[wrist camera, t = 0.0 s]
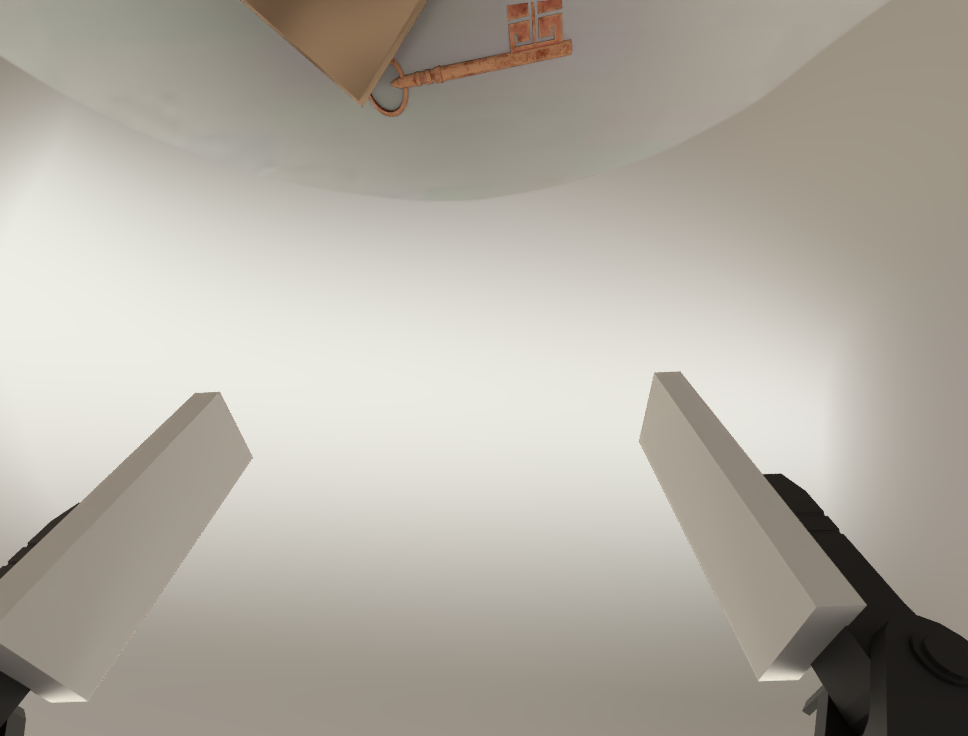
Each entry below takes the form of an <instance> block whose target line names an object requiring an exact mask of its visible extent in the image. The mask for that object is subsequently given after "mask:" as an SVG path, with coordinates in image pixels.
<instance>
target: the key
mask: <svg viewBox="0 0 968 736" xmlns="http://www.w3.org/2000/svg"><path fill="white" fill-rule="evenodd" d="M531 7H532V27H533V44H527V45H523V46H518V47H515V39H514V34H517V35H518V43H519V42H523V41H528V40H530V32H529V20H527V21H522V22H518V23H513V24H509V35H510V47H511V52H509V53H504V54H499V55H495V56H490V57H485V58H480V59H476V60H471V61H466V62H461V63H457V64H452V65H447V66H442V67H440V65H439V66H437V67H435V68H434V70H430V69H427V70H425V71H424V72H419V71H418V72H415V74H410V75H404V73H403V71H402V69H401V67H400V66H399V64H398V63H397V62H396V61H395V60H394V59H393V58H392V60H391V61H390V63H391V64H392V65H393V66H394V67H395V69H396V70H397V72H398V73H399V75H400V77H398V78H397V79H396V80H394V81H393V82H392V83H391V86H393V87H397V88H401V89H402V88H404V97H403V102H402V105H401V107H400V108H398V109H397V110H394V111H389V110H386V109H384V108H382V107H381V106H380V105H379V104H377V102H376V101H375V100H374V98H373V97H372V95H371V94H370V96H369V99H370V101H371V102H372V104H373V105H374V107H375V108H376V109H377V110H378V111H380V112H381V113H382V114H384V115H386V116H390V117H394V116H398V115H399V114H401V113H402V112H403V110H404V109H405V107H406V104H407V100H408V87H412V86H422V84H427V83H428V84H433V82H437V83H443V81H446V80H451V79H456V78H461V77H466V76H470V75H475V74H480V73H485V72H490V71H495V70H499V69H504V68H509V67H514V66H519V65H524V64H528V63H533V62H538V61H543V60H548V59H553V58H557V57H562V56H567V55H571V54H572V41H571V39H570V40H566V41H562V13H559V14H555V15H550V16H545V17H541V18H538V26H539V38H542V37H547V36H551V26H554V39H553V40H548V41H543V42H539V43H536V31H535V12H534V2H531ZM561 8H562V0H547V1H539V2H538V13H543V12H547V11H552V10H557V9H561ZM507 12H508V20H511V19H516V18H520V17H525V16H529V15H528V3H522V4H514V5H507Z"/></svg>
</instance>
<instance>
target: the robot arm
mask: <svg viewBox="0 0 968 736" xmlns="http://www.w3.org/2000/svg"><path fill="white" fill-rule="evenodd" d="M639 442H640V444H641V446H642V448H643V450H644V452H645V454H646V456H647V458H648V460H649V462H650V465H651V467H652V468H653V471H654V473H655V475H656V476H657V479H658V481H659V482H660V485H661V487H662V489H663V491H664V493H665V495H666V497H667V499H668V501H669V503H670V504H671V507H672V509H673V511H674V513H675V515H676V517H677V519H678V521H679V523H680V525H681V527H682V529H683V531H684V533H685V535H686V537H687V539H688V541H689V543H690V545H691V547H692V549H693V551H694V553H695V555H696V557H697V559H698V561H699V563H700V565H701V567H702V569H703V571H704V573H705V575H706V577H707V579H708V581H709V583H710V585H711V587H712V589H713V591H714V593H715V595H716V597H717V599H718V601H719V603H720V605H721V607H722V609H723V611H724V613H725V615H726V617H727V619H728V621H729V623H730V625H731V627H732V629H733V631H734V633H735V635H736V638H737V639H738V641H739V644H740V646H741V648H742V649H743V651H744V654H745V656H746V658H747V660H748V662H749V664H750V666H751V668H752V669H753V672H754V674H755V676H756V678H757V680H758V681H772V680H773V681H776V680H799V679H800V678H801V676H802V675H803V674H804V673H805V672H806V671H807V670H808V669H809V668H810V667H811V666H812V668H813V669H814V671H815V672H816V674H817V676H818V677H819V679H820V681H821V682H822V684H823V685H822V686H821V687H820V688H819V689H818V690H817V691H816V693H815V694H813V695H812V696H811V697H810V698H809V699H808V700H807V701H806V704H805V706H804V708H803V710H802V711H803V712H805V713H806V714H808V715H811V713H813V712H814V711H815V710H816V709H817V716H816V725H815V735H814V736H968V641H967V640H966V639H965V638H963V637H962V636H960V635H958V634H957V633H955V632H953V631H952V630H950V629H948V628H947V627H945V626H943V625H941V624H940V623H937V622H935V621H932V620H929V619H926V618H923V617H921V616H917V615H916V614H915V613H914V612H913V611H912V610H911V609H910V608H909V607H908V606H907V605H906V604H905V603H904V602H903V601H902V600H901V599H900V598H899V596H898V595H897V594H896V593H895V592H894V591H893V590H892V588H891V587H890V586H889V585H888V584H887V583H886V582H885V581H884V579H883V578H882V577H881V576H880V575H879V574H878V573H877V571H875V569H874V568H873V567H872V566H871V565H870V564H869V563H868V561H867V560H866V559H865V558H864V557H863V556H862V554H861V553H860V552H859V551H858V550H857V549H856V548H855V547H854V545H853V544H852V543H851V542H850V541H849V540H848V539H847V538H846V536H845V535H844V534H841V533H840V532H839V528H838V527H837V526H836V525H835V524H834V523H833V522H832V520H831V519H830V518H829V517H828V516H825V515H824V511H823V510H822V509H821V508H820V507H819V506H818V504H817V503H816V502H815V501H814V500H813V499H812V498H811V497H810V495H809V494H808V493H807V492H806V491H805V490H803V489H802V488H801V487H799V486H798V485H796V484H795V483H794V482H792V481H791V480H789V479H788V478H786V477H785V476H784V475H782V474H762V473H761V472H760V471H759V470H758V468H757V467H756V466H755V464H754V463H753V462H752V461H751V459H750V458H749V457H748V456H747V454H746V453H745V452H744V451H743V449H742V448H741V447H740V446H739V445H738V443H737V442H736V441H735V439H734V438H733V437H732V436H731V434H729V432H728V431H727V429H726V428H725V427H724V426H723V425H722V423H721V422H720V421H719V419H718V418H717V417H716V416H715V415H714V413H713V412H712V411H711V410H710V408H709V407H708V406H707V404H706V403H705V402H704V401H703V400H702V398H701V397H700V396H699V395H698V393H697V392H696V391H695V389H694V388H693V387H692V386H691V384H690V383H689V382H688V381H687V380H686V378H685V377H684V376H683V375H682V374H681V372H660V373H654V376H653V381H652V385H651V390H650V395H649V399H648V403H647V408H646V412H645V417H644V421H643V426H642V431H641V435H640V440H639ZM252 458H253V457H252V455H251V453H250V451H249V449H248V447H247V445H246V443H245V441H244V439H243V437H242V435H241V433H240V431H239V429H238V427H237V425H236V423H235V421H234V419H233V417H232V415H231V413H230V411H229V409H228V407H227V405H226V403H225V401H224V399H223V397H222V395H221V393H220V392H209V393H195V394H194V395H193V396H192V397H190V398H189V399H188V400H187V401H186V402H185V403H184V404H183V405H182V406H181V407H180V408H179V409H178V410H177V411H176V412H175V413H174V414H173V415H172V416H171V417H170V418H168V419H167V420H166V421H165V422H164V423H163V424H162V425H161V426H160V427H159V428H158V429H157V430H156V431H155V432H154V433H153V434H152V435H151V436H150V437H149V438H148V439H147V440H145V441H144V442H143V443H142V444H141V445H140V446H139V447H138V448H137V449H136V450H135V451H134V452H133V453H132V454H131V455H130V456H129V457H128V458H127V459H126V460H124V461H123V463H121V464H120V465H119V466H118V467H117V468H116V469H115V470H114V471H113V472H112V473H111V474H110V475H109V476H108V477H107V478H106V479H105V480H104V481H102V482H101V483H100V484H99V485H98V486H97V487H96V488H95V489H94V490H93V491H92V492H91V493H90V494H89V495H88V496H87V497H86V498H85V499H84V500H83V501H82V502H81V503H78V504H76V505H75V506H73V507H72V508H70V509H69V510H67V511H66V512H64V513H63V514H61V515H60V516H58V517H57V518H55V519H54V520H52V521H51V522H50V523H49V524H47V525H46V526H45V527H44V528H43V529H42V530H41V531H40V532H39V533H38V534H37V535H36V536H35V537H33V538H32V539H31V540H30V541H29V542H28V546H27V547H23V548H22V549H21V550H20V551H19V552H17V553H16V554H15V555H14V556H13V557H12V558H11V559H10V560H9V561H8V565H7V566H3V567H1V568H0V736H24V730H25V722H26V718H25V712H24V709H22V708H21V707H19V706H18V705H19V704H20V702H21V701H22V700H23V699H24V697H25V696H26V695H27V694H28V692H29V691H30V690H31V691H32V692H34V693H35V694H37V695H39V696H40V697H42V698H44V699H46V700H47V701H49V702H80V701H81V702H82V701H89V699H90V698H91V696H92V695H93V693H94V692H95V690H96V689H97V688H98V686H99V684H100V683H101V682H102V680H103V679H104V677H105V676H106V674H107V673H108V671H109V670H110V668H111V667H112V665H113V664H114V662H115V661H116V659H117V658H118V656H119V655H120V653H121V652H122V650H123V649H124V648H125V646H126V645H127V643H128V642H129V640H130V639H131V637H132V636H133V634H134V633H135V631H136V630H137V628H138V627H139V625H140V624H141V622H142V621H143V619H144V618H145V616H146V615H147V613H148V612H149V610H150V609H151V608H152V606H153V604H154V603H155V602H156V600H157V599H158V597H159V595H160V594H161V593H162V591H163V590H164V588H165V587H166V585H167V584H168V582H169V581H170V579H171V578H172V576H173V575H174V573H175V572H176V571H177V569H178V568H179V566H180V564H181V563H182V562H183V560H184V559H185V557H186V556H187V554H188V553H189V551H190V550H191V548H192V547H193V545H194V544H195V542H196V541H197V539H198V538H199V536H200V535H201V533H202V532H203V530H204V529H205V527H206V526H207V524H208V523H209V522H210V520H211V519H212V517H213V516H214V514H215V513H216V511H217V510H218V508H219V507H220V505H221V504H222V502H223V501H224V499H225V498H226V496H227V495H228V494H229V492H230V491H231V489H232V488H233V486H234V484H235V483H236V482H237V480H238V479H239V477H240V476H241V474H242V473H243V471H244V470H245V468H246V467H247V465H248V464H249V462H250V461H251V459H252Z"/></svg>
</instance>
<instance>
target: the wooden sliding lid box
mask: <svg viewBox="0 0 968 736" xmlns="http://www.w3.org/2000/svg"><path fill="white" fill-rule="evenodd" d="M241 1H242V2H243V3H244V4H245V5H246V6H248V7H249V8H250V9H251V10H252V11H253V12H254V13H256V14H257V15H258V16H259V17H260V18H261V19H262V20H264V21H265V22H266V23H267V24H268V25H269V26H270V27H272V28H273V29H274V30H275V31H276V32H277V33H278V34H280V35H281V36H282V37H283V38H284V39H285V40H287V41H288V42H289V43H290V44H291V45H292V46H293V47H295V48H296V49H297V50H298V51H299V52H300V53H301V54H303V55H304V56H305V57H306V58H307V59H308V60H309V61H311V62H312V63H313V64H314V65H315V66H316V67H317V68H319V69H320V70H321V71H322V72H323V73H324V74H325V75H327V76H328V77H329V78H330V79H331V80H332V81H333V82H335V83H336V84H337V85H338V86H339V87H340V88H341V89H343V90H344V91H345V92H346V93H347V94H348V95H349V96H351V97H352V98H353V99H354V100H355V101H356V102H357V103H359V104H360V105H361V106H362V107H363V105H364V104H365V102H366V101H367V99H368V97H369V96H370V94H371V92H372V91H373V89H374V88H375V86H376V84H377V83H378V81H379V79H380V78H381V76H382V74H383V73H384V71H385V70H386V68H387V66H388V65H389V63H390V61H391V60H392V58H393V57H394V55H395V53H396V52H397V50H398V48H399V47H400V45H401V43H402V42H403V40H404V39H405V37H406V35H407V34H408V32H409V30H410V29H411V27H412V25H413V24H414V22H415V21H416V19H417V17H418V16H419V14H420V12H421V11H422V9H423V8H424V6H425V4H426V3H427V1H428V0H241Z"/></svg>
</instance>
